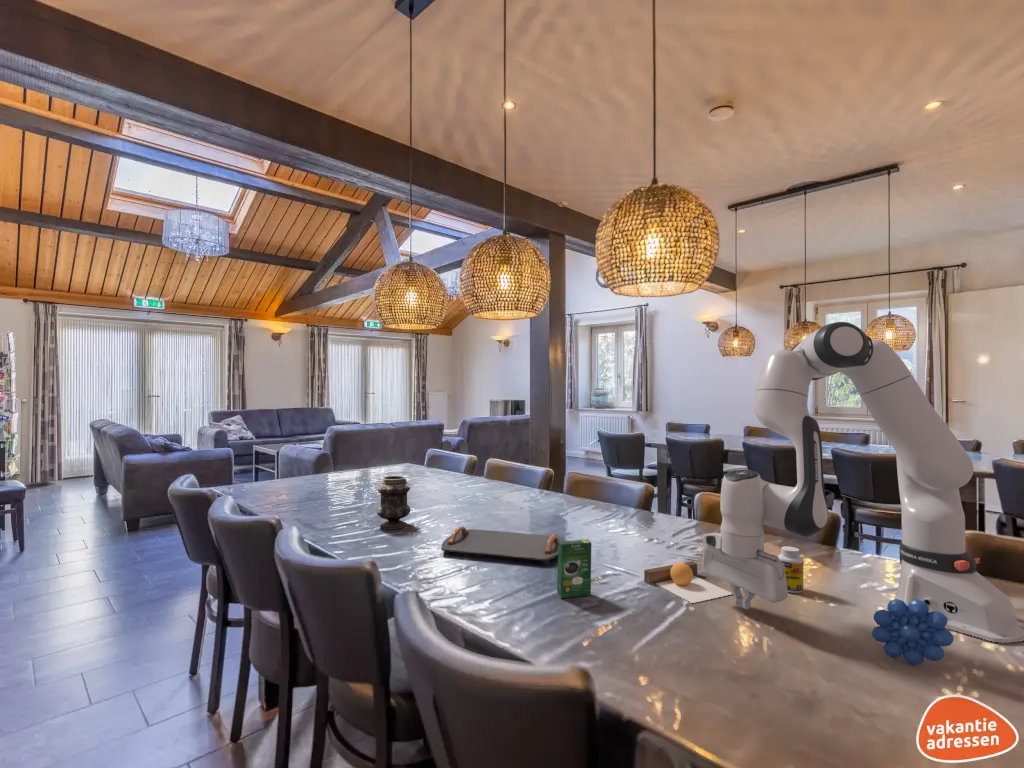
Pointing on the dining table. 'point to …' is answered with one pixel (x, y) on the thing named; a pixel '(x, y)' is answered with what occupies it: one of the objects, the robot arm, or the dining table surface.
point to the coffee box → (574, 568)
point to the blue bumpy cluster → (912, 631)
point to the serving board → (503, 544)
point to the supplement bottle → (792, 568)
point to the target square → (695, 590)
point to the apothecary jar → (393, 501)
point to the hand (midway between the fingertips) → (742, 606)
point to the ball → (681, 574)
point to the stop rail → (664, 573)
